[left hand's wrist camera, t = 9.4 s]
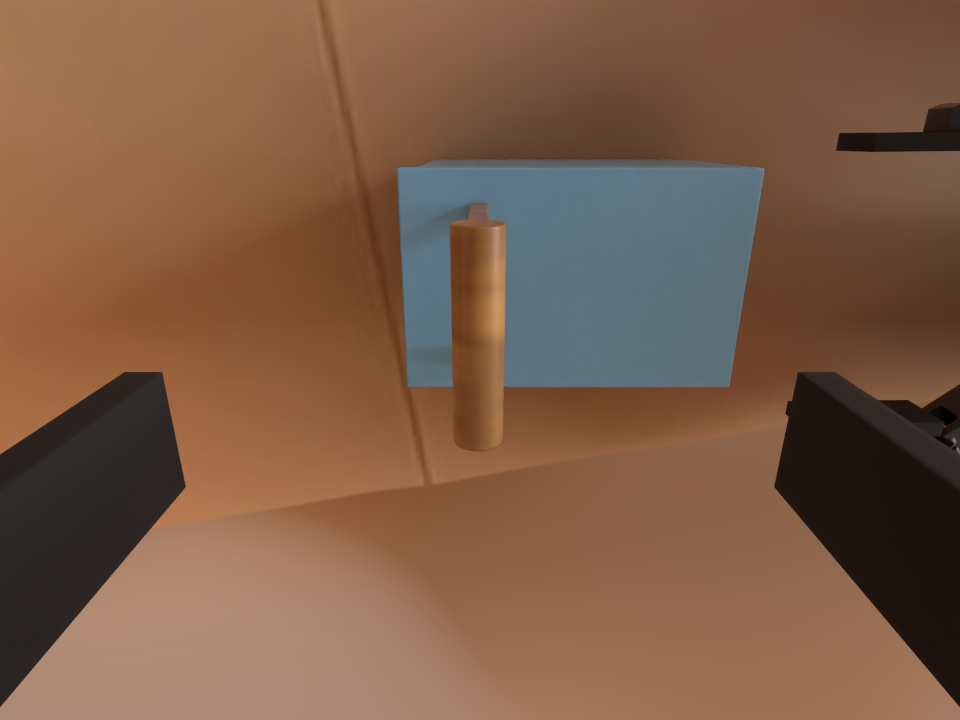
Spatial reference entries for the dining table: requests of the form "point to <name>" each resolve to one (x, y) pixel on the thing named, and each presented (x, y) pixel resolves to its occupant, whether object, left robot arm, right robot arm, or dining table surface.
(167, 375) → the dining table surface
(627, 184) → the lid
